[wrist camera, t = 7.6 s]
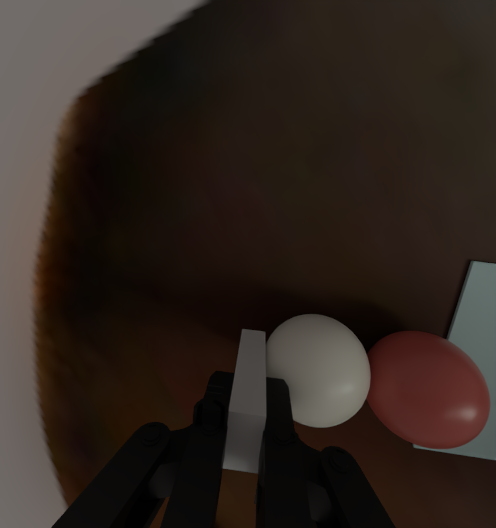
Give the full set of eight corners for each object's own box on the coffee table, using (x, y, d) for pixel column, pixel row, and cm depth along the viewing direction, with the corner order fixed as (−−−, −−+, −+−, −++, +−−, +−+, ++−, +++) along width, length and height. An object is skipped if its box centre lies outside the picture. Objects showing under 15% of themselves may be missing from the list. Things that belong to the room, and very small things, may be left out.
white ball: (306, 293, 19) (397, 327, 15) (291, 368, 20) (372, 417, 16) (247, 309, 14) (355, 363, 10) (234, 403, 16) (325, 482, 12)
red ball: (451, 320, 17) (548, 381, 11) (426, 398, 19) (501, 489, 13) (358, 308, 17) (406, 362, 11) (340, 386, 19) (375, 470, 13)
